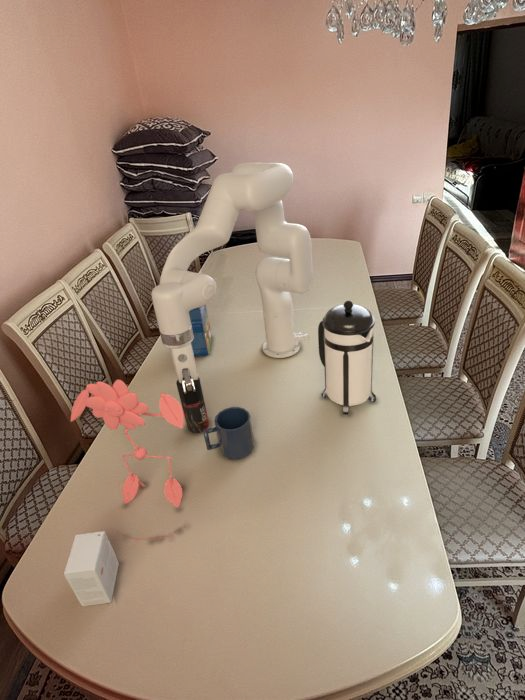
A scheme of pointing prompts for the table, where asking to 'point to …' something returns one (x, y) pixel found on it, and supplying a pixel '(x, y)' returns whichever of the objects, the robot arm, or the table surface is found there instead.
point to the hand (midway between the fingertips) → (189, 392)
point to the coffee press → (347, 354)
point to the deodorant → (194, 409)
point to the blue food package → (200, 331)
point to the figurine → (130, 426)
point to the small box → (92, 568)
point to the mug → (232, 433)
